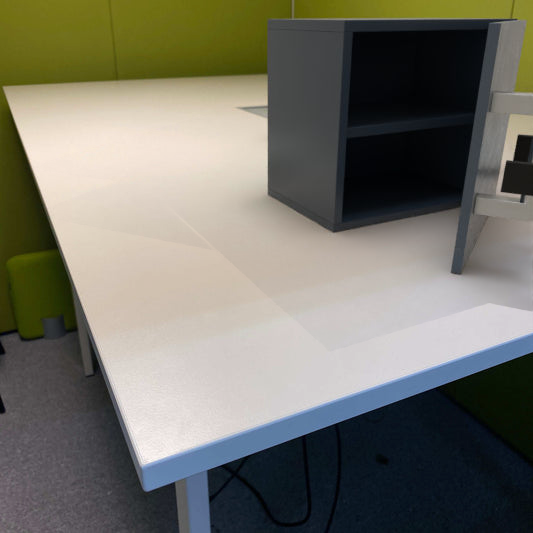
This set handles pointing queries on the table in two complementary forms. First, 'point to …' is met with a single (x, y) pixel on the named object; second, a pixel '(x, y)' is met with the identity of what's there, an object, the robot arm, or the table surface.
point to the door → (493, 139)
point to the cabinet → (372, 115)
